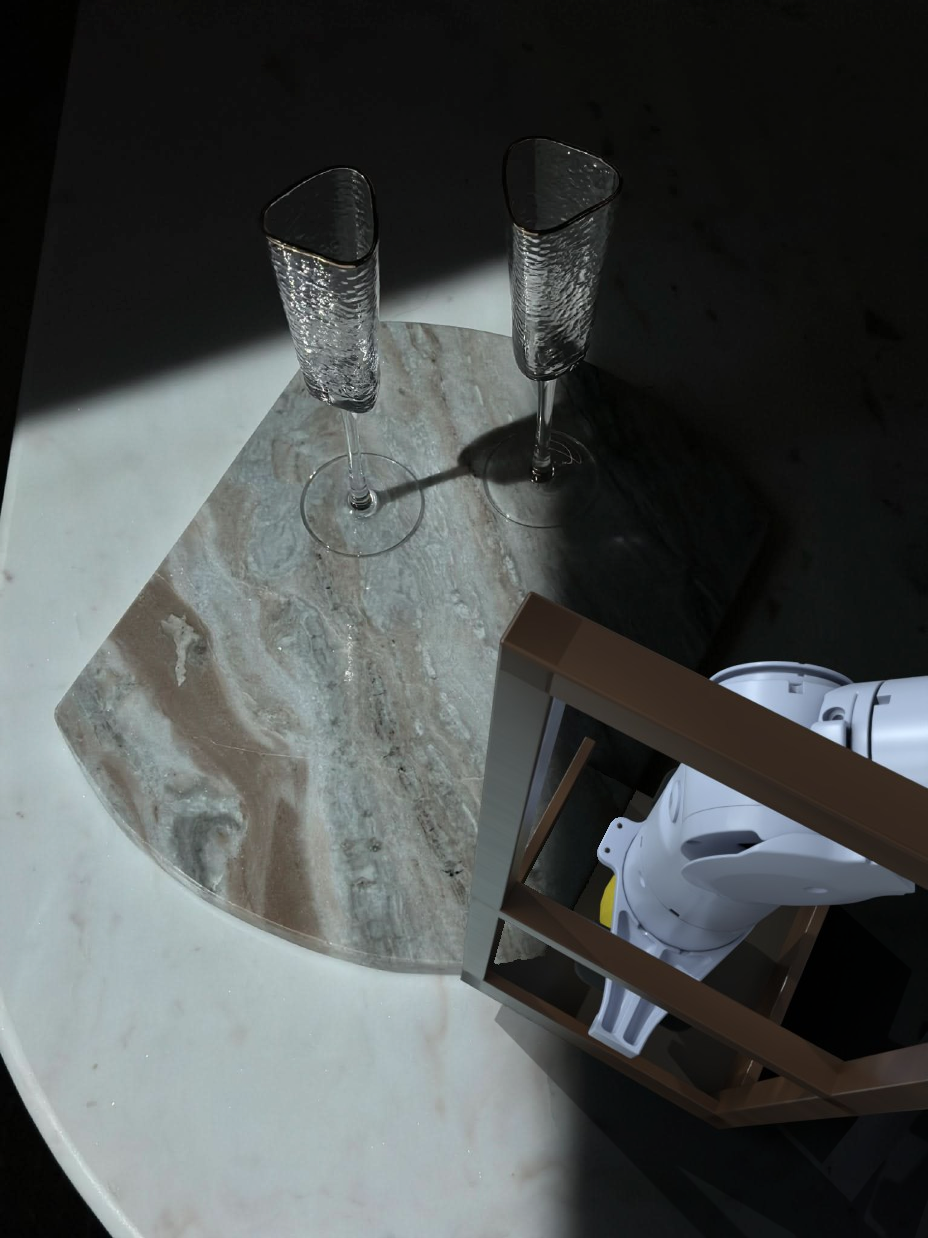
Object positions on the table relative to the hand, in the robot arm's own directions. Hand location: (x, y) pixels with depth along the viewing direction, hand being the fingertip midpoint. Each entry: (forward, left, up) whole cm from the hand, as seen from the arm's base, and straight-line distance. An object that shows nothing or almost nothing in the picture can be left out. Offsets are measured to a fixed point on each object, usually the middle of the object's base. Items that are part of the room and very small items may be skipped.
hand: (654, 921), depth 56 cm
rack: (0, 0, -3) cm, 3 cm away
